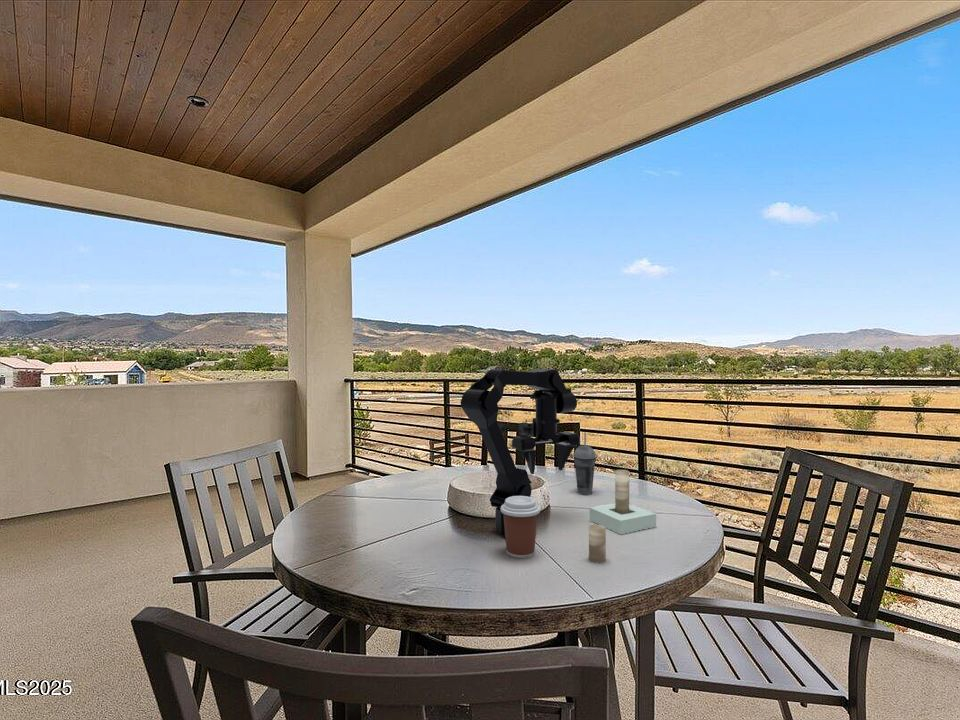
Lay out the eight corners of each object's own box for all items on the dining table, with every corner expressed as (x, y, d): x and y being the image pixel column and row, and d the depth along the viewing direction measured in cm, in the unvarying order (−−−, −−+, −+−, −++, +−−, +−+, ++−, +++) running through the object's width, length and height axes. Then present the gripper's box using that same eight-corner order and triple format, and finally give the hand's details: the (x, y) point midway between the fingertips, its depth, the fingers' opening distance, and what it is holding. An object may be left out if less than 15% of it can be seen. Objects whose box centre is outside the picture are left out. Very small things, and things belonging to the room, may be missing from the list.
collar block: (620, 534, 124) (620, 520, 124) (589, 520, 135) (589, 507, 134) (656, 527, 129) (656, 513, 129) (623, 514, 140) (623, 501, 140)
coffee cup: (493, 548, 115) (493, 497, 115) (528, 542, 119) (527, 492, 119) (512, 563, 107) (512, 508, 107) (548, 556, 111) (548, 502, 111)
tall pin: (628, 526, 129) (628, 473, 129) (614, 524, 131) (614, 472, 131) (630, 522, 133) (630, 470, 133) (616, 520, 134) (616, 469, 134)
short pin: (596, 563, 107) (596, 531, 107) (585, 557, 110) (585, 526, 110) (609, 560, 108) (609, 528, 108) (598, 554, 111) (598, 523, 111)
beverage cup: (594, 490, 165) (594, 430, 164) (597, 496, 157) (597, 433, 157) (572, 489, 165) (572, 429, 165) (574, 495, 158) (574, 433, 158)
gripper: (557, 410, 146) (557, 462, 147) (501, 413, 138) (502, 469, 138) (580, 414, 136) (581, 470, 137) (522, 418, 128) (523, 478, 128)
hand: (546, 472), depth 135 cm, fingers open, 9 cm apart
